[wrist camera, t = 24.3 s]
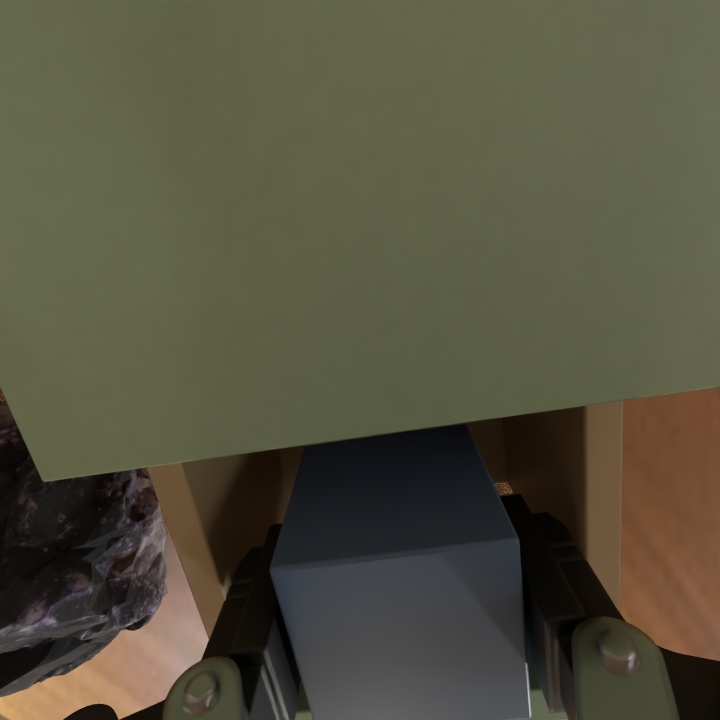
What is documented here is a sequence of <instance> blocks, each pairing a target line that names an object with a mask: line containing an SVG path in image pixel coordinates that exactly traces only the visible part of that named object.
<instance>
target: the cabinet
mask: <svg viewBox="0 0 720 720" xmlns="http://www.w3.org/2000/svg"><path fill="white" fill-rule="evenodd" d="M715 387H720V0H0V389H1V391H2V393H3V395H4V397H5V400H6V402H7V404H8V406H9V408H10V411H11V413H12V415H13V417H14V419H15V422H16V424H17V426H18V428H19V430H20V433H21V435H22V437H23V439H24V441H25V444H26V446H27V448H28V450H29V452H30V455H31V457H32V459H33V461H34V464H35V466H36V468H37V470H38V472H39V475H40V477H41V479H42V481H44V482H47V481H54V480H61V479H68V478H75V477H82V476H89V475H97V474H104V473H111V472H118V471H125V470H132V469H139V468H146V467H153V466H161V465H168V464H175V463H182V462H189V461H196V460H203V459H210V458H217V457H225V456H232V455H239V454H246V453H253V452H260V451H267V450H274V449H282V448H289V447H296V446H303V445H310V444H317V443H324V442H331V441H338V440H346V439H353V438H360V437H367V436H374V435H381V434H388V433H395V432H402V431H410V430H417V429H424V428H431V427H438V426H445V425H452V424H459V423H466V422H474V421H481V420H488V419H495V418H502V417H509V416H516V415H523V414H530V413H538V412H545V411H552V410H559V409H566V408H573V407H580V406H587V405H594V404H602V403H609V402H616V401H623V400H630V399H637V398H644V397H651V396H659V395H666V394H673V393H680V392H687V391H694V390H701V389H708V388H715Z"/></svg>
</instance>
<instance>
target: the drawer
mask: <svg viewBox="0 0 720 720" xmlns="http://www.w3.org/2000/svg"><path fill="white" fill-rule="evenodd" d="M462 424H465V425H467V427H468V429H469V431H470V433H471V435H472V438H473V440H474V442H475V444H476V446H477V449H478V451H479V453H480V455H481V457H482V459H483V462H484V464H485V466H486V468H487V470H488V473H489V475H490V477H491V479H492V481H493V484H494V483H501V482H508V483H509V485H510V487H511V489H512V491H513V493H512V494H504V495H499V496H505V495H513V494H521V495H522V497H523V498H524V500H525V502H526V504H527V506H528V508H529V510H530V511H531V513H532V514H536V513H544V512H548V513H549V514H550V515H552V516H553V517H554V518H556V519H557V520H558V521H560V522H561V523H562V524H564V525H565V526H566V528H567V529H568V531H569V533H570V534H571V536H572V537H573V539H574V541H575V542H576V546H578V547H579V549H580V550H581V552H582V553H583V555H584V557H585V560H587V561H588V563H589V565H590V566H591V568H592V569H593V571H594V573H595V574H596V576H597V577H598V579H599V580H600V582H601V584H602V585H603V587H604V588H605V590H606V592H607V593H608V595H609V596H610V598H611V600H612V601H613V603H614V604H615V606H616V608H617V609H618V611H619V612H620V568H621V506H622V443H623V401H616V402H609V403H602V404H594V405H587V406H580V407H573V408H566V409H559V410H552V411H545V412H538V413H530V414H523V415H516V416H509V417H502V418H495V419H488V420H481V421H474V422H466V423H459V424H452V425H445V426H438V427H431V428H424V429H417V430H410V431H402V432H395V433H388V434H381V435H374V436H367V437H360V438H353V439H346V440H338V441H331V442H324V443H317V444H310V445H303V446H296V447H289V448H282V449H274V450H267V451H260V452H253V453H246V454H239V455H232V456H225V457H217V458H210V459H203V460H196V461H189V462H182V463H175V464H168V465H161V466H153V467H146V468H147V471H148V474H149V477H150V479H151V482H152V485H153V488H154V490H155V493H156V496H157V498H158V501H159V504H160V507H161V509H162V512H163V515H164V518H165V520H166V523H167V526H168V529H169V531H170V534H171V537H172V540H173V542H174V545H175V548H176V550H177V553H178V556H179V559H180V561H181V564H182V567H183V570H184V572H185V575H186V578H187V581H188V583H189V586H190V589H191V592H192V594H193V597H194V600H195V602H196V605H197V608H198V611H199V613H200V616H201V619H202V622H203V624H204V627H205V630H206V633H207V635H208V638H209V639H210V636H211V634H212V631H213V629H214V626H215V623H216V621H217V618H218V616H219V613H220V610H221V608H222V605H223V603H224V601H226V595H227V592H228V590H229V587H230V586H231V585H232V579H233V577H234V574H235V571H236V569H237V566H238V564H239V563H240V561H241V560H242V559H243V558H244V557H245V556H246V554H247V553H248V552H249V551H250V550H251V548H255V547H263V546H264V542H265V539H266V536H267V533H268V530H269V528H270V526H271V525H273V524H280V523H283V520H284V517H285V513H286V510H287V506H288V503H289V500H290V496H291V493H292V489H293V486H294V482H295V479H296V476H297V472H298V469H299V465H300V462H301V458H302V455H303V452H304V448H305V447H307V446H313V445H320V444H327V443H334V442H341V441H349V440H356V439H363V438H370V437H377V436H384V435H391V434H398V433H405V432H412V431H420V430H427V429H434V428H441V427H448V426H455V425H462ZM527 654H528V668H529V682H530V695H531V709H532V715H531V717H529V718H523V719H511V720H566V719H568V717H567V714H566V712H559V713H550V712H549V709H548V706H547V703H546V701H545V698H544V695H543V692H542V690H541V687H540V684H539V681H538V678H537V676H536V673H535V670H534V667H533V665H532V662H531V659H530V656H529V653H528V651H527ZM295 720H313V718H312V715H311V711H310V708H309V705H308V701H307V698H306V694H305V691H304V687H303V684H302V681H301V684H300V690H299V697H298V703H297V710H296V716H295Z"/></svg>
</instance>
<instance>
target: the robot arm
mask: <svg viewBox="0 0 720 720" xmlns="http://www.w3.org/2000/svg"><path fill="white" fill-rule="evenodd" d="M499 497H500V499H501V501H502V503H503V506H504V508H505V510H506V512H507V514H508V516H509V519H510V521H511V523H512V525H513V527H514V530H515V532H516V534H517V536H518V538H519V543H520V557H521V571H522V585H523V598H524V612H525V626H526V640H527V651H528V653H529V656H530V659H531V662H532V665H533V667H534V670H535V673H536V676H537V678H538V681H539V684H540V687H541V690H542V692H543V695H544V698H545V701H546V703H547V706H548V709H549V712H550V713H559V712H566V714H567V717H568V720H720V661H716V660H710V659H705V658H700V657H695V656H689V655H684V654H680V653H676V652H672V651H669V650H667V649H664V648H662V647H659V646H657V645H656V644H655V643H654V641H653V640H652V639H651V638H650V637H649V636H648V635H646V634H645V633H644V632H643V631H641V630H640V629H638V628H637V627H635V626H634V625H632V624H630V623H628V622H626V621H625V620H624V618H623V617H622V616H621V614H620V612H619V611H618V609H617V608H616V606H615V604H614V603H613V601H612V600H611V598H610V596H609V595H608V593H607V592H606V590H605V588H604V587H603V585H602V584H601V582H600V580H599V579H598V577H597V576H596V574H595V573H594V571H593V569H592V568H591V566H590V565H589V563H588V561H587V560H585V557H584V555H583V553H582V552H581V550H580V549H579V547H578V546H576V542H575V541H574V539H573V537H572V536H571V534H570V533H569V531H568V529H567V528H566V526H565V525H564V524H562V523H561V522H560V521H558V520H557V519H556V518H554V517H553V516H552V515H550V514H549V513H548V512H544V513H536V514H532V513H531V511H530V510H529V508H528V506H527V504H526V502H525V500H524V498H523V497H522V495H521V494H513V495H505V496H499ZM282 524H283V523H280V524H273V525H271V526H270V528H269V530H268V533H267V536H266V539H265V542H264V546H263V547H255V548H251V550H250V551H249V552H248V553H247V554H246V556H245V557H244V558H243V559H242V560H241V561H240V563H239V564H238V566H237V569H236V571H235V574H234V577H233V579H232V585H231V586H230V587H229V590H228V592H227V595H226V601H224V603H223V605H222V608H221V610H220V613H219V616H218V618H217V621H216V623H215V626H214V629H213V631H212V634H211V636H210V639H209V642H208V644H207V647H206V649H205V652H204V655H203V657H202V660H201V661H200V662H197V663H196V664H194V665H193V666H191V667H190V668H189V669H187V670H186V671H185V672H184V673H183V674H182V675H181V676H180V677H179V678H178V679H177V680H176V682H175V683H174V684H173V686H172V687H171V689H170V691H169V693H168V695H167V697H166V699H165V700H163V701H161V702H159V703H157V704H155V705H153V706H150V707H148V708H146V709H143V710H141V711H138V712H136V713H134V714H131V715H129V716H127V717H124V718H122V719H120V720H295V716H296V710H297V703H298V697H299V690H300V684H301V677H300V674H299V670H298V667H297V664H296V660H295V657H294V653H293V650H292V646H291V643H290V640H289V636H288V633H287V629H286V626H285V623H284V619H283V616H282V612H281V609H280V605H279V602H278V599H277V595H276V592H275V588H274V585H273V582H272V578H271V575H270V571H269V569H270V565H271V561H272V558H273V554H274V551H275V548H276V544H277V541H278V537H279V534H280V530H281V527H282ZM64 720H119V719H118V717H117V715H116V713H115V711H114V710H113V709H112V708H111V707H110V706H108V705H105V704H94V705H90V706H86V707H84V708H82V709H79V710H77V711H76V712H74V713H72V714H71V715H69V716H68V717H66V718H65V719H64Z"/></svg>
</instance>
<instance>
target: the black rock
mask: <svg viewBox="0 0 720 720" xmlns="http://www.w3.org/2000/svg"><path fill="white" fill-rule="evenodd" d="M166 534H167V533H166V530H165V527H164V525H163V522H162V513H161V507H160V504H159V501H158V498H157V496H156V493H155V490H154V488H153V485H152V482H151V480H150V479H149V478H148V477H146V476H145V475H144V474H143V473H142V471H141V470H138V469H132V470H125V471H118V472H111V473H104V474H97V475H89V476H82V477H75V478H68V479H61V480H54V481H47V482H44V481H42V479H41V477H40V475H39V472H38V470H37V468H36V466H35V464H34V461H33V459H32V457H31V455H30V452H29V450H28V448H27V446H26V444H25V441H24V439H23V437H22V435H21V433H20V430H19V428H18V426H17V424H16V422H15V419H14V417H13V415H12V413H11V411H10V408H9V407H8V406H5V405H2V404H0V697H3V696H7V695H10V694H13V693H16V692H19V691H22V690H25V689H28V688H29V687H31V686H32V685H33V684H35V683H37V682H39V681H40V682H42V681H44V680H46V679H48V678H51V677H54V676H58V675H65V674H67V673H69V672H70V671H72V670H74V669H75V668H77V667H78V666H80V665H81V664H83V663H84V662H86V661H88V660H91V659H92V658H93V657H94V656H95V655H96V654H98V653H100V651H101V650H102V649H103V648H105V647H106V646H107V645H108V644H109V643H110V642H111V641H112V640H113V639H114V638H115V637H116V636H117V635H118V633H119V632H120V631H121V630H126V629H127V630H132V631H134V630H137V629H140V628H141V627H143V626H144V625H146V624H147V623H148V622H149V621H150V620H151V618H152V617H153V615H154V614H155V613H156V611H157V609H158V608H159V606H160V604H161V600H162V599H163V598H164V597H165V596H166V594H167V593H168V592H167V586H166V582H165V579H166V574H167V568H166V564H165V540H166Z"/></svg>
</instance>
